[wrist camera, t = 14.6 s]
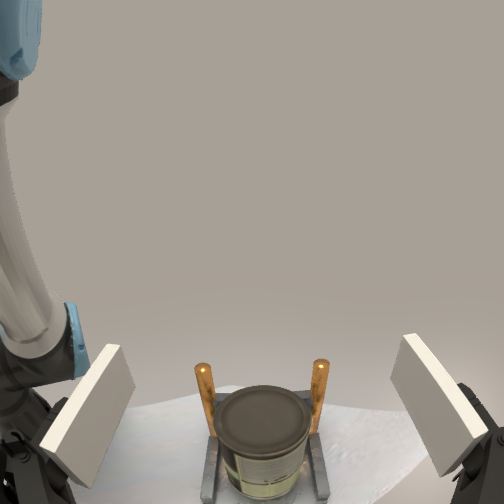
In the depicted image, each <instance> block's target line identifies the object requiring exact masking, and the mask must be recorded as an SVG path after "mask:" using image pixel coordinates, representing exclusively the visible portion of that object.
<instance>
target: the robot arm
mask: <svg viewBox="0 0 504 504" xmlns="http://www.w3.org/2000/svg"><path fill="white" fill-rule="evenodd" d="M41 18H42V0H0V504H76V502H75V499H74V497H73V494H72V491H71V488H70V486H69V484H68V482H67V479H68V477H69V478H70V479H71V480H73V481H74V482H75V483H76V484H79V485H81V486H84V487H86V488H89V489H91V487H92V484H93V482H94V480H95V477H96V475H97V472H98V470H99V467H100V465H101V463H102V460H103V458H104V456H105V453H106V451H107V449H108V446H109V444H110V442H111V440H112V437H113V435H114V433H115V431H116V428H117V426H118V424H119V422H120V420H121V417H122V415H123V413H124V411H125V409H126V407H127V404H128V402H129V400H130V398H131V396H132V394H133V391H134V390H135V388H136V387H135V384H134V381H133V379H132V376H131V373H130V371H129V368H128V365H127V363H126V360H125V357H124V354H123V351H122V348H121V346H120V345H113V344H107V345H106V346H105V348H104V349H103V350H102V352H101V353H100V355H99V356H98V357H97V359H96V360H95V362H94V363H93V364H92V366H91V367H90V362H89V359H88V355H87V351H86V347H85V343H84V339H83V334H82V331H81V326H80V322H79V316H78V311H77V306H76V304H75V303H68V302H65V303H63V302H62V300H61V298H60V297H59V296H58V295H57V294H56V293H55V292H53V291H52V290H50V289H47V288H46V287H45V285H44V283H43V280H42V278H41V275H40V273H39V270H38V268H37V265H36V263H35V260H34V257H33V255H32V252H31V249H30V246H29V243H28V240H27V237H26V234H25V230H24V227H23V223H22V220H21V216H20V213H19V209H18V205H17V201H16V197H15V192H14V188H13V183H12V178H11V172H10V167H9V160H8V154H7V146H6V137H5V126H4V120H5V118H6V116H7V114H8V113H9V111H10V110H11V108H12V107H13V105H14V104H15V102H16V101H17V99H18V83H19V80H23V78H25V77H27V76H28V75H30V74H31V73H32V72H33V70H34V68H35V66H36V62H37V58H38V47H39V44H40V34H41ZM84 375H85V376H84ZM81 376H84V377H83V379H82V380H81V381H80V383H79V385H78V386H77V387H76V389H75V390H74V392H73V393H72V395H71V397H70V398H66V397H63V398H62V399H61V400H60V401H58V402H57V403H56V404H55V405H54V407H53V408H51V406H50V405H49V403H47V401H46V400H45V399H44V398H42V397H41V396H40V395H39V394H38V393H37V392H36V391H35V390H34V389H32V387H37V386H42V385H47V384H52V383H56V382H61V381H65V380H70V379H71V380H75V379H76V378H77V377H81ZM390 379H391V381H392V383H393V385H394V386H395V388H396V390H397V392H398V394H399V396H400V398H401V399H402V401H403V403H404V405H405V407H406V409H407V411H408V413H409V415H410V417H411V419H412V421H413V423H414V425H415V427H416V429H417V430H418V432H419V435H420V437H421V439H422V441H423V443H424V445H425V447H426V449H427V451H428V453H429V455H430V457H431V459H432V462H433V464H434V466H435V468H436V470H437V472H438V475H439V477H443V476H445V475H447V474H449V473H451V472H453V471H455V470H456V469H457V467H458V466H459V465H460V464H461V463H462V465H463V467H464V468H463V469H462V470H461V471H460V472H459V473H458V474H457V475H456V476H455V477H454V478H453V480H452V481H453V482H454V481H455V480H456V479H457V478H458V477H459V479H458V481H457V482H458V483H457V486H456V489H455V492H454V495H453V498H452V500H451V503H450V504H504V427H500V428H499V427H498V426H497V424H496V423H495V422H494V420H493V419H492V417H491V416H490V415H489V413H488V412H487V410H486V409H485V408H484V406H483V405H482V404H481V402H480V401H479V399H478V398H476V395H475V394H474V393H473V391H472V390H471V389H470V388H469V387H467V386H466V385H464V384H463V383H460V384H457V385H456V383H455V382H454V381H453V379H452V378H451V377H450V375H449V374H448V373H447V371H446V370H445V369H444V368H443V366H442V365H441V364H440V362H439V361H438V360H437V359H436V357H435V356H434V355H433V354H432V352H431V351H430V350H429V349H428V347H427V346H426V345H425V344H424V343H423V341H422V340H421V339H420V338H419V337H418V335H417V334H416V333H414V334H408V335H403V336H402V340H401V344H400V347H399V351H398V355H397V358H396V361H395V364H394V368H393V371H392V374H391V377H390ZM4 479H5V480H6V481H7V484H6V486H5V485H4Z"/></svg>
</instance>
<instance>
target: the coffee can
mask: <svg viewBox="0 0 504 504" xmlns="http://www.w3.org/2000/svg"><path fill="white" fill-rule="evenodd" d="M311 421H312V418H311V412H310V409H309V407H308V406H307V404H306V403H305V401H304V400H303V399H302V398H301V397H300V396H298V395H297V394H295V393H294V392H292V391H289V390H287V389H284V388H281V387H276V386H269V385H259V386H252V387H247V388H243V389H240V390H237V391H235V392H233V393H232V394H230V395H229V396H227V397H226V398H225V399H224V400H222V401H221V403H220V404H219V405H218V407H217V408H216V410H215V413H214V417H213V426H214V430H215V433H216V435H217V438H218V441H219V445H220V449H221V453H222V456H223V460H224V464H225V468H226V471H227V477H228V480H229V482H230V484H231V486H232V487H233V488H234V489H235V490H236V491H237V492H239V493H240V494H242V495H244V496H246V497H249V498H252V499H258V500H267V499H274V498H277V497H280V496H282V495H284V494H286V493H287V492H289V491H290V490H291V489H292V488H293V487H294V486H295V485H296V483H297V481H298V479H299V476H300V469H301V464H302V460H303V456H304V451H305V446H306V441H307V436H308V433H309V431H310V427H311Z"/></svg>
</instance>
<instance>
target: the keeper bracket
mask: <svg viewBox="0 0 504 504" xmlns="http://www.w3.org/2000/svg"><path fill="white" fill-rule="evenodd" d="M329 365H330V363H329V361H327V360H326V359H318V360H315V361H314V364H313V373H312V381H311V390H305V391H293V392H294V393H295V394H297V395H298V396H300V397H301V398H302V399H303V400H304V401H305V403H306V404H307V406H308V407H309V409H310V412H311V418H312V421H311V427H310V431H309V433H308V436H307V441H306V446H305V451H304V456H303V460H302V464H301V469H300V476H299V479H298V481H297V483H296V485H295V486H294V487H293V488H292V489H291V490H290V491H289V492H287V493H286V494H284V495H282V496H280V497H277V498H274V499H267V500H258V499H252V498H249V497H246V496H244V495H242V494H240V493H239V492H237V491H236V490H235V489H234V488H233V487H232V486H231V484H230V482H229V480H228V477H227V471H226V468H225V464H224V460H223V456H222V453H221V449H220V445H219V441H218V438H217V435H216V433H215V430H214V426H213V417H214V413H215V410H216V408H217V407H218V405H219V404H220V403H221V401H222V400H224V399H225V398H226V397H227V396H229V395H230V394H232V393H215V389H214V384H213V378H212V372H211V367H210V365H209V364H207V363H199V364H197V365H196V366H195V368H194V369H195V374H196V378H197V383H198V387H199V391H200V396H201V400H202V404H203V408H204V412H205V416H206V420H207V424H208V428H209V431H210V435H211V436H209V440H208V447H207V454H206V460H205V467H204V474H203V481H202V488H201V495H200V498H201V500H202V501H203V503H204V504H326V503H327V498H328V497H329V495H330V489H329V484H328V478H327V473H326V468H325V463H324V458H323V452H322V447H321V442H320V437H319V433H317V430H318V425H319V420H320V416H321V411H322V406H323V400H324V395H325V389H326V384H327V378H328V372H329Z"/></svg>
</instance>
